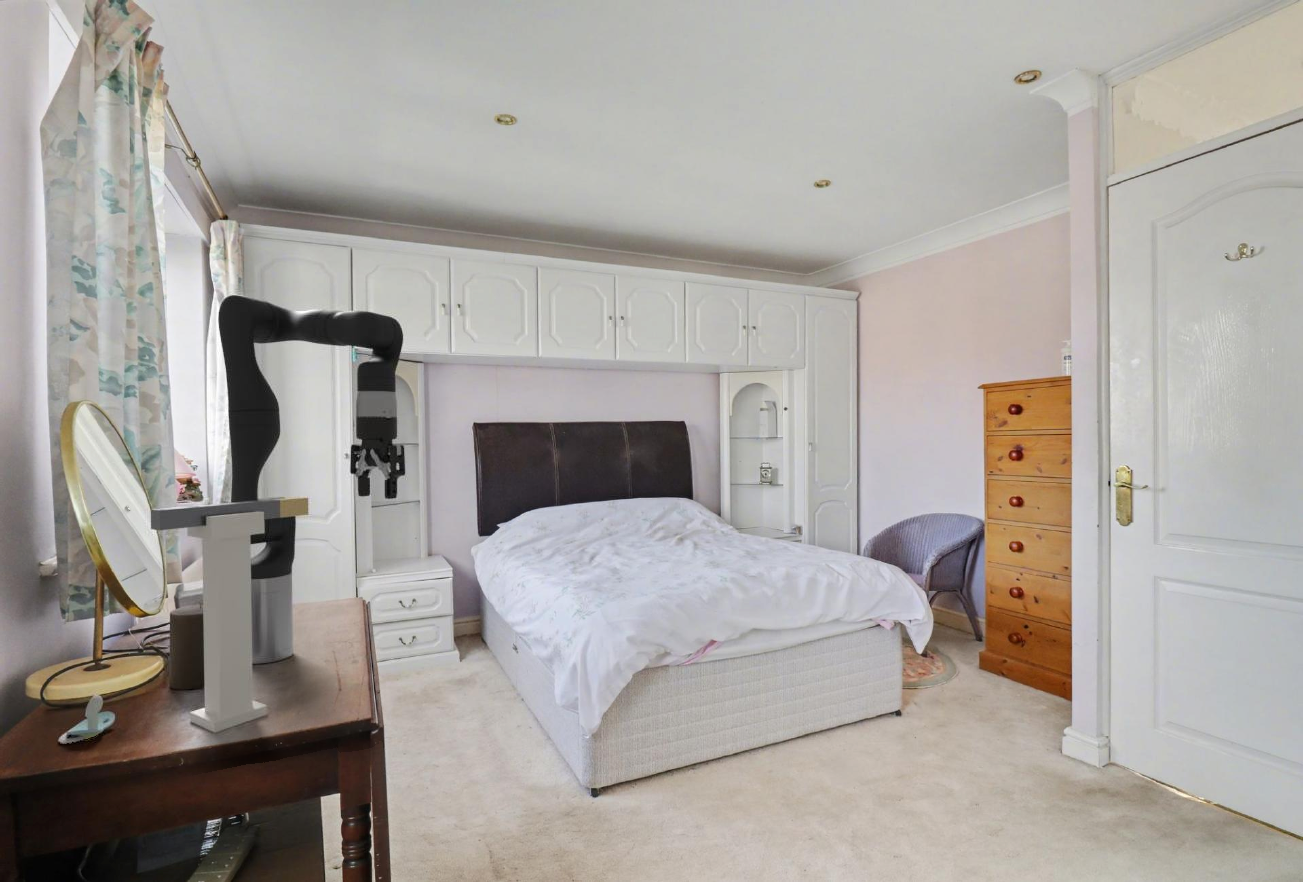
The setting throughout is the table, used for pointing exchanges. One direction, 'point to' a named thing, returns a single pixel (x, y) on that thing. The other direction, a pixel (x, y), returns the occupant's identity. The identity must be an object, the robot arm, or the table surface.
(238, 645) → the stand
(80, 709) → the table surface
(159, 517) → the bar
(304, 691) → the table surface
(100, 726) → the pacifier
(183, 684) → the pillar candle
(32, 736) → the table surface
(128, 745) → the table surface
